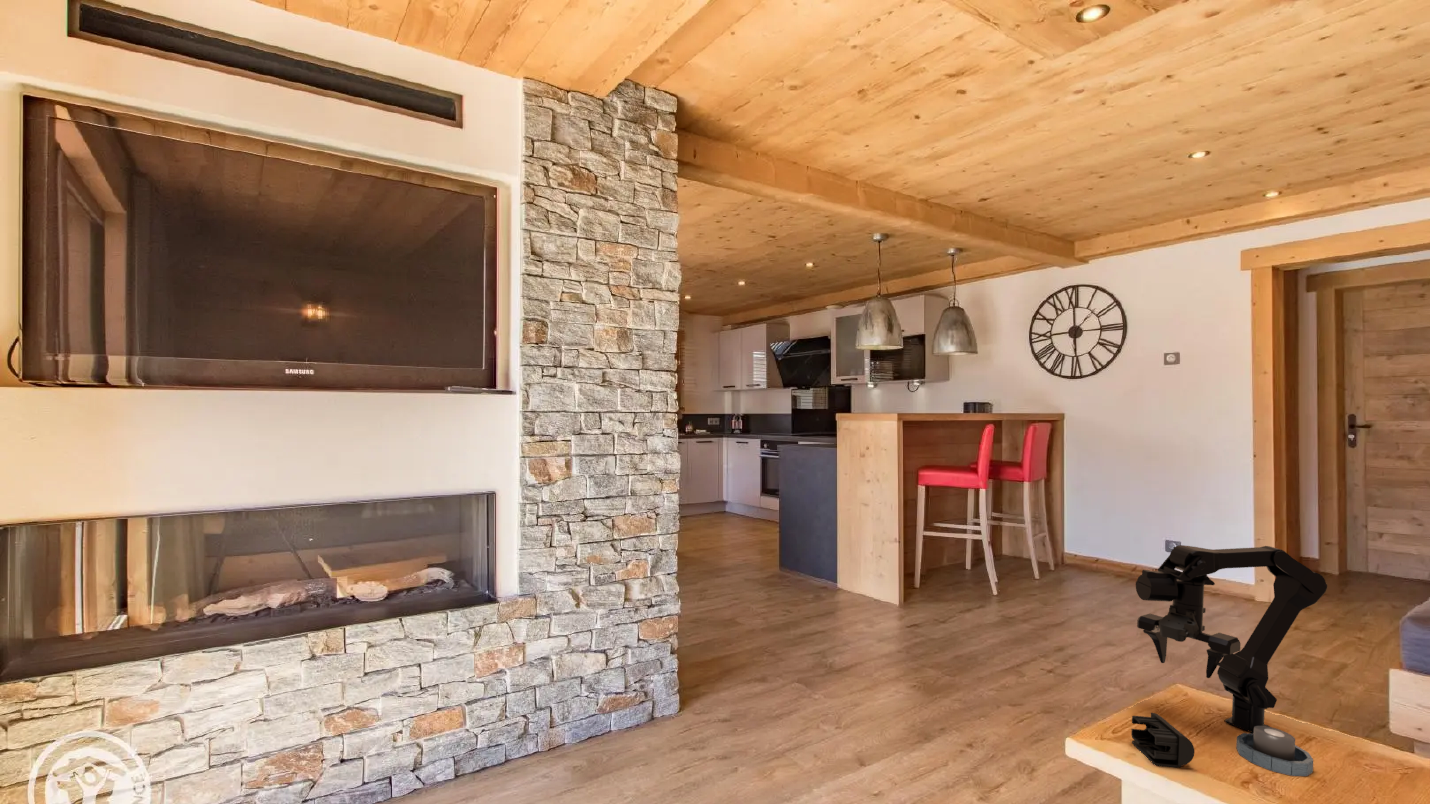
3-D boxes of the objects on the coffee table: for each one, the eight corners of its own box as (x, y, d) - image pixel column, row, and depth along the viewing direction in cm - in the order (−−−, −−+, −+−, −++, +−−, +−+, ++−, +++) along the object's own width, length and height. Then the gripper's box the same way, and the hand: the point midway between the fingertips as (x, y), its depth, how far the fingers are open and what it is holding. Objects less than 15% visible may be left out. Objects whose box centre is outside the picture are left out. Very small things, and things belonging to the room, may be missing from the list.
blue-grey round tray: (1251, 739, 142) (1251, 728, 142) (1320, 766, 132) (1321, 754, 132) (1227, 752, 136) (1227, 741, 136) (1298, 781, 126) (1299, 769, 126)
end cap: (1194, 771, 129) (1195, 737, 129) (1156, 767, 129) (1157, 733, 129) (1165, 744, 139) (1166, 713, 139) (1129, 741, 139) (1131, 710, 139)
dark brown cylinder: (1260, 746, 139) (1261, 721, 139) (1299, 761, 133) (1300, 736, 133) (1247, 753, 135) (1248, 729, 135) (1286, 769, 130) (1288, 743, 130)
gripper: (1126, 595, 153) (1123, 661, 153) (1220, 619, 137) (1217, 693, 137) (1150, 589, 159) (1147, 653, 159) (1242, 612, 143) (1240, 683, 143)
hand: (1185, 670), depth 149 cm, fingers open, 9 cm apart
